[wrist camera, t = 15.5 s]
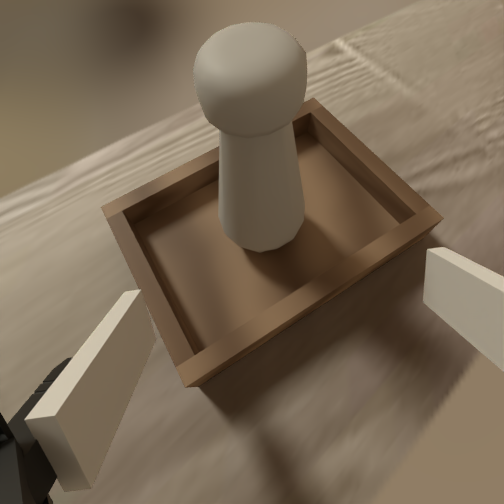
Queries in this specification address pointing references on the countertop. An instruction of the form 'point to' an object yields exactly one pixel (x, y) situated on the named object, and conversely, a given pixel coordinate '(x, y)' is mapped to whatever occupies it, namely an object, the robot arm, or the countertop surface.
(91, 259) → the countertop surface
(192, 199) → the walnut tray
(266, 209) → the salt shaker
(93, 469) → the robot arm
